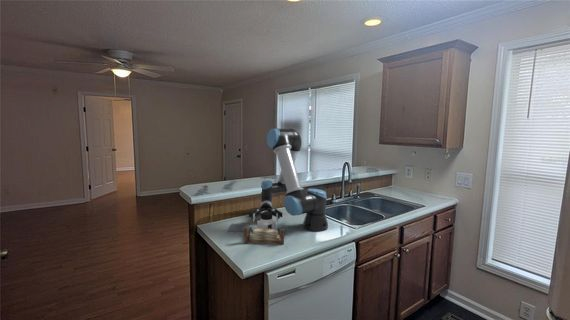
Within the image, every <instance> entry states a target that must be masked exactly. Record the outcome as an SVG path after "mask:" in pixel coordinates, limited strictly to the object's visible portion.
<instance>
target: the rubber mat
mask: <svg viewBox="0 0 570 320" xmlns="http://www.w3.org/2000/svg"><path fill="white" fill-rule="evenodd" d="M245 227H248V229H249V228H250V227H251V224H250V223H231V225H230V226H229V228H228V229H227V232H229V233H231V232H234V233H235V232H236V233H244V228H245Z"/></svg>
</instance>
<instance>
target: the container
mask: <svg viewBox="0 0 570 320" xmlns="http://www.w3.org/2000/svg"><path fill="white" fill-rule="evenodd" d="M276 223H277V220H274V219H273V215H272V212H270V211H263V212H261V215H260V219H259V220H257V221H256V228H259V229H274V230H277V228H276V227H277V224H276Z"/></svg>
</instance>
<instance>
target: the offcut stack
mask: <svg viewBox="0 0 570 320" xmlns="http://www.w3.org/2000/svg"><path fill="white" fill-rule="evenodd" d="M278 232H279V231H278V229H276V230H274V229H259V228H257V227H256V228H253V230H252V231H251V232H250V237H249V240H271V241H279V237H280V234H278Z"/></svg>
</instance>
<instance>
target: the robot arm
mask: <svg viewBox="0 0 570 320" xmlns="http://www.w3.org/2000/svg"><path fill="white" fill-rule="evenodd" d="M266 144H267V146H268V147H269V148H270V149H272V152H273V153H275V154H276V156H277V159H278V163H279V167H280V174H279V176H278V180H277V182H273V181H271V180H262V181H261V186H260V189H261V188H262V192H261V191H260V194H261V195H260V209H258V208H254V209H253V210H251V211H250V212H248V217H249V218H251V219H252V223H254V222H255V219H256V217H259V216H261V212H263V211H270V212H272V217H275V218H276V220H275V221H276V223H278V222H279V219H280V218H283V212H282V211H280V210H278V208H275V209H273V195H274V194H275V195H276V194H279V193H280V194H283V193H285V197H284V198H283V207H284V209H285V211H286V212H287V213H288V214H289V215H290V216H300V215H303V214H305V217H304V220H303V222H302V223H303V224H302V225H303V226H302V228H304V229H306V230H307V231H313V232H323V231H326V230H328V228H329V222H328V219H327V216H326V211H327V200H328V199H327V191H326V192H325V191H323V190H324V189H323V190H319V189H320V188H308V189H306V190H305V188H304V187H302V185H301V182H300V177H299V175H298V172H297V168H296V164H295V162H296V159H297V155H298V154H299V153H298V152H300V151H301V148H302V137H301V134H300V132H299V131H297V130H296V129H294V128H277V127H276V128H271V129H270V130H269V131H268V133H267V135H266Z"/></svg>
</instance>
